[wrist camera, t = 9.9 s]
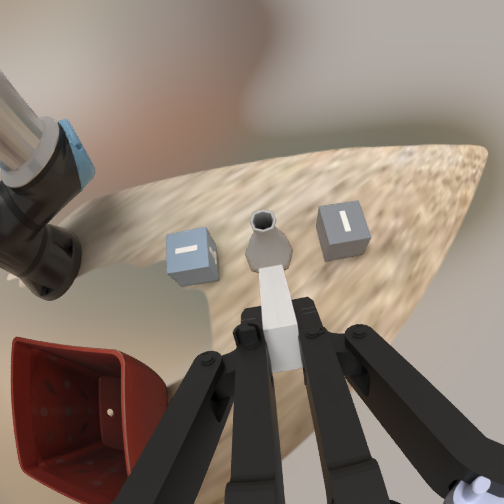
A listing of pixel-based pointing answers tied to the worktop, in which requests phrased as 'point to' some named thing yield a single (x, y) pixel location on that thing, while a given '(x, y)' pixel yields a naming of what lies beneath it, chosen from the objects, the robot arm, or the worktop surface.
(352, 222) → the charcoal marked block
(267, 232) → the flask
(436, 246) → the worktop surface
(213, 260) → the slate-blue marked block
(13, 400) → the plant pot
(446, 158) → the worktop surface
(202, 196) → the worktop surface
